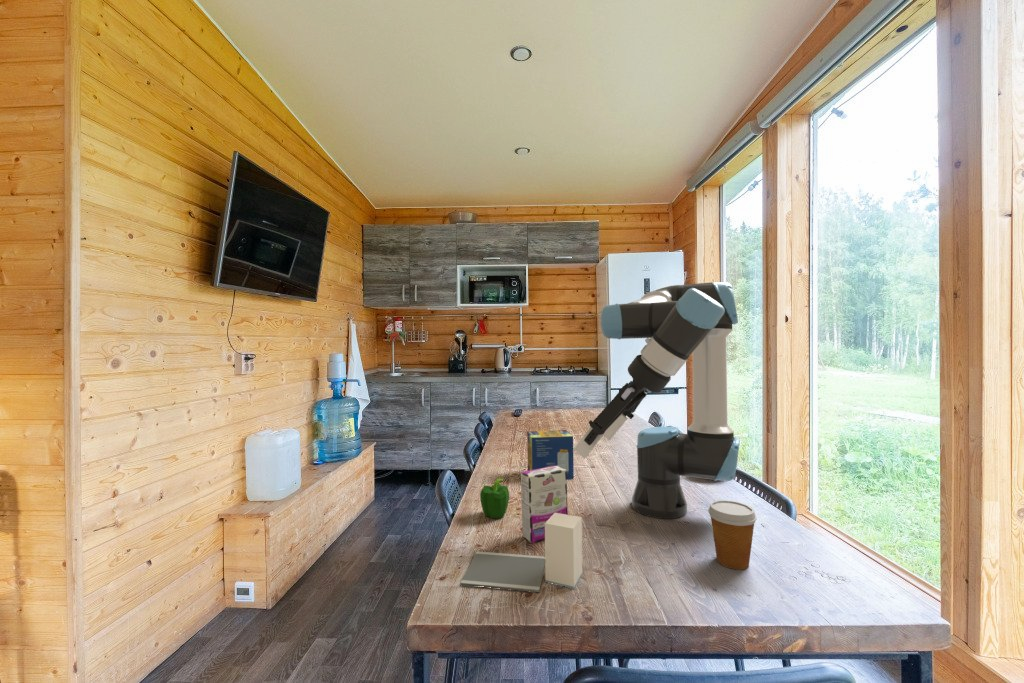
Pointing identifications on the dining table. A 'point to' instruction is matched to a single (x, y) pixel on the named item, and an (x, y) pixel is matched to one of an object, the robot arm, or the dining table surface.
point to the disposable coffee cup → (732, 532)
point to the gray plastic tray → (505, 571)
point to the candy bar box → (542, 499)
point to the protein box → (550, 450)
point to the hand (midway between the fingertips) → (593, 444)
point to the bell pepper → (494, 500)
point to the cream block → (563, 550)
